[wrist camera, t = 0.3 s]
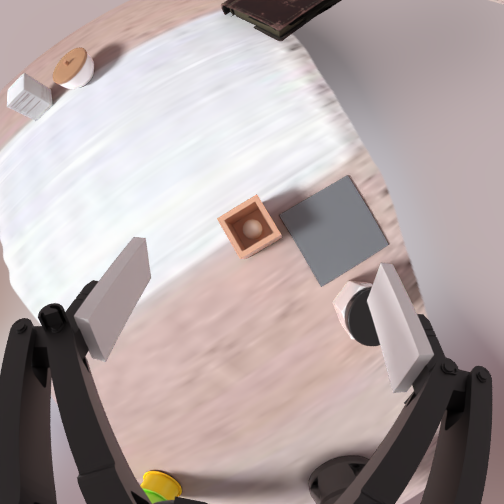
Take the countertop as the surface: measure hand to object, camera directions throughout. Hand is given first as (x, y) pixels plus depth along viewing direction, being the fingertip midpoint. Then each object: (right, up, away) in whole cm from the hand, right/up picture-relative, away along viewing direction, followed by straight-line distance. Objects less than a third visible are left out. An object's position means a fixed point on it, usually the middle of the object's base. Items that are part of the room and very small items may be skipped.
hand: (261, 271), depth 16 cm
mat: (+14, +5, +33) cm, 36 cm away
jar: (+18, -8, +33) cm, 38 cm away
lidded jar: (-44, +46, +41) cm, 76 cm away
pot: (0, +5, +35) cm, 35 cm away
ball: (0, +5, +33) cm, 33 cm away
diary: (+8, +60, +35) cm, 70 cm away
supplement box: (-59, +42, +43) cm, 84 cm away
